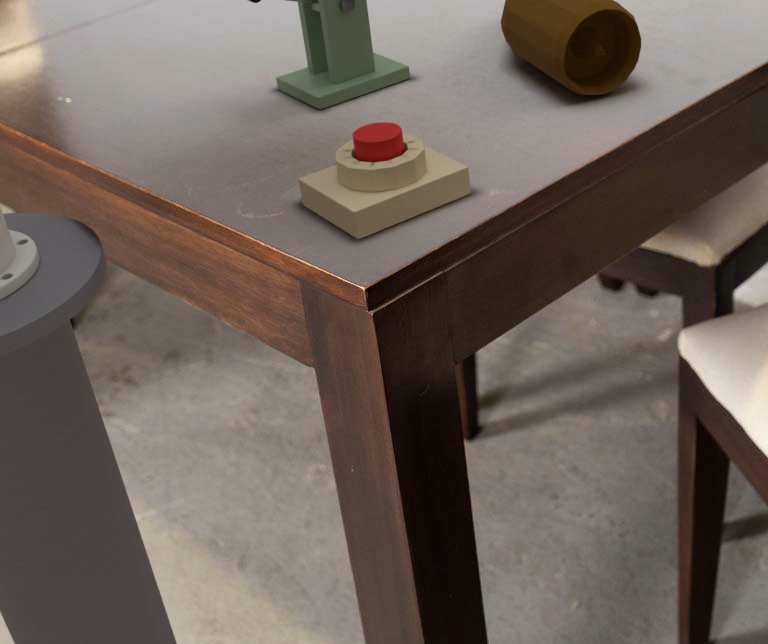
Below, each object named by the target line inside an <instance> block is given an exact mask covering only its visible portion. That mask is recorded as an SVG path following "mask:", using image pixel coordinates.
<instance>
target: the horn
mask: <svg viewBox="0 0 768 644" xmlns="http://www.w3.org/2000/svg"><path fill="white" fill-rule="evenodd" d="M500 24H501V25H500V27H501V32H502V34H503V37H504V40H505V42H506V44H508V46H509V47H510V48H511V50H512V51H513V53H515V54H517V55H518V56H519V57H520V58H522V59H523V60H525V61H526V62H527V63H529V64H530V65H532V66H534V67H535V68H537V69H538V70H539V71H541V72H542V73H544V74H546V75H547V76H548V77H550V78H552V79H553V80H554V81H556V82H558V83H559V84H561V85H562V86H563V87H564V88H567V89H568V90H569V91H571V92H573V93H574V94H577V95H580V96H600V95H605V94H608V93H610V92H612V91H613V90H615V89H617V88H619V87H620V86H622V85H623V84H624V83H625V82H626V81H627V80H628V78H629V77H630V75H631V74H632V73H633V72H634V70H635V69H636V67H637V64H638V62H639V58H640V55H641V50H642V36H641V33H640V30H639V25H638V23H637V21H636V19H635V16H634V15H633V14H632V13H631V12H630V11H629V10H627V9H626V8H625V7H624V6H622V5H621V4H620V3H619V2H617V1H616V0H505V1H504V5H503V9H502V14H501V19H500Z"/></svg>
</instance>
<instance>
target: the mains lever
mask: <svg viewBox="0 0 768 644" xmlns="http://www.w3.org/2000/svg"><path fill="white" fill-rule="evenodd" d="M247 1H248V2H251V3H253V4H257V3H260V2H261V1H262V0H247ZM285 2H297V3H298V2H306V3H311V9H313V10H315V11H318V12H320V9H319V3H318V0H285Z"/></svg>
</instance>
